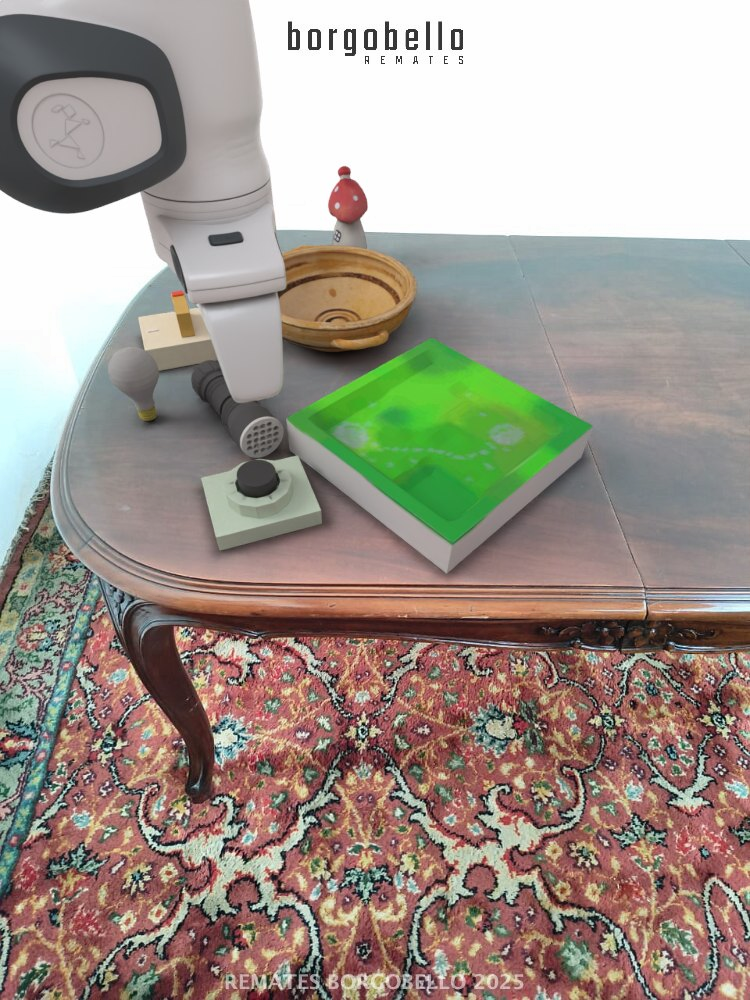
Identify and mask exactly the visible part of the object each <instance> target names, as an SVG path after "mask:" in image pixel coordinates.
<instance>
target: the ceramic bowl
mask: <svg viewBox="0 0 750 1000" xmlns="http://www.w3.org/2000/svg"><path fill="white" fill-rule="evenodd" d="M281 253H282V257H283V261H284V265H285V272H286V288H285V290H282V291H278V292H277V293H278V298H279V303H280V311H281V321H282V340H284V341H286V342H288V343H291V344H293V345H297V346H301V347H303V348H307V349H312V350H316V351H320V352H326V353H327V352H328V353H340V352H341V353H342V352H346V351H354V350H355V351H358V350H363V349H367V348H373V347H378V346H381V345H383V344H385V343H386V342H387V341H388V340H389V335H391V334H392V333H393V332H394V331H395V330H397V329H398V328H399V327H400V326H401V325H402V323H404V321H405V319H406V318H407V317H408V315H409V313H410V310H411V309H412V308H411V307H412V305H413V302H414V301H415V299H416V296H417V294H418V282H417V278H416V276H415V275H414V274H413V272H412V271H411V270H410V268H408V266H406V265H405V264H404V263H403V262H401V261H400V260H397V259H396V258H395V257H392V256H390V255H388V254H385V253H382V252H380V251H376V250H373V249H369V248H367V249H365V248H360V247H352V246H341V245H332V244H325V245H309V244H308V245H307V244H306V245H304V244H303V245H299V246H296V247H294V248H292V249H290V250H286V251H284V252H281Z"/></svg>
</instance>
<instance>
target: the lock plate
mask: <svg viewBox="0 0 750 1000" xmlns="http://www.w3.org/2000/svg"><path fill="white" fill-rule="evenodd" d="M189 311H190V315H191V320H192V324H193V328H194V333H195V335H194V336H188V337H181V333H180V329H179V325H178V321H177V317H176V313H175V310H174V311H168V312H163V313H155V314H149V315H148V314H147V315H143V316H138V324H139V327H140V328H139V329H140V334H141V338H142V343H143V348H144V350H145V351H147V352H148V353H149V354H150V355H151V356H152V357H153V358H154V360H155V361H156V363H157V366H158V369H159V372H161V371H165V370H171V369H178V368H183V367H188V366H194V365H199V364H200V363H202V362H204V361H207V360H214V361H218V359H217V356H216V353H215V350H214V347H213V344H212V341H211V338H210V336H209V333H208V330H207V327H206V325H205V322H204V320H203V317H202V315H201V313H200V311H199V309H198V307H193V308H189Z"/></svg>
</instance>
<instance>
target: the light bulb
mask: <svg viewBox="0 0 750 1000" xmlns="http://www.w3.org/2000/svg"><path fill="white" fill-rule="evenodd" d="M107 372H108V376H109V378H110V381H111V383H112V384H113V386H114V387H115V388H116V389H118V390H119V391H120V392H121V393H123V394H124V395H125V396H127V397H128V398H129V399H131V400H132V402H133V404H134V407H135V409H136V410H137V414H138V416H139V417H138V418H139V419H140V420H142V421H144V422H150V421H152V420H153V421H154V419H156V418H157V415H158V413H157V410H156V406H155V400H154V393H155V389H156V387H157V384H158V382H159V379H160V378H159V377H160V371H159V369H158V366H157V363H156V361H155V360H154V358H153V357H152V356H151V355H150V354H149V353H148V352H147V351H145V349H143V348H140V347H135V346H127V347H122V348H121V349H118V350H116V351H115V352H114V353H113V355H112V356H111V358H110V359H109V362H108V371H107Z"/></svg>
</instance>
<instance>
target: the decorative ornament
mask: <svg viewBox="0 0 750 1000" xmlns="http://www.w3.org/2000/svg"><path fill="white" fill-rule="evenodd" d="M351 173H352V171H351V168H350V167H349V166H346V165H343V166H341V167H339V168H338V170H337V175H338V177H339V181H337V183H336V184H335V185H334V187H333V188H332V189H331V192H330V195H329V199H328V201H327V209H328V212H329V214H330V216H332V217H333V218H335V219H336V221H335V225H334V228H333V235H332V243H331V245H341V246H352V247H360V248H365V249H368V243H367V237H366V233H365V229H364V226H363V224H362V221H361V219H362V217H364V215H365V214H366V212H367V211H368V208H369V206H368V205H369V203H368V198H367V195H366V193H365V191H364V189H363V187H361V185H360V184H359V183H358V182H357V180H356V179H352V178H351Z"/></svg>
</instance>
